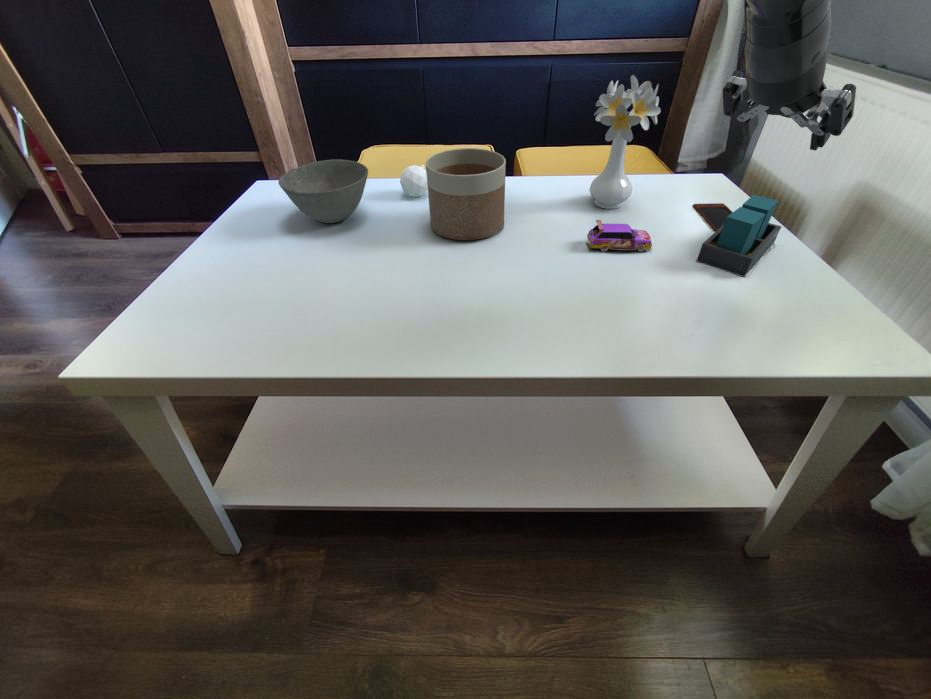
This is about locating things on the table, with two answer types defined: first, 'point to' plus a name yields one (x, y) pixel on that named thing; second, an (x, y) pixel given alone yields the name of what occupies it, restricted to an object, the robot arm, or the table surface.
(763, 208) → the teal cuboid
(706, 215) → the smartphone
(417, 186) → the ornament
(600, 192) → the flower vase
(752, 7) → the robot arm
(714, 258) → the dark grey open box
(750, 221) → the teal block
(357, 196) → the bowl
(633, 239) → the toy car
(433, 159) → the planter
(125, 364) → the table surface
